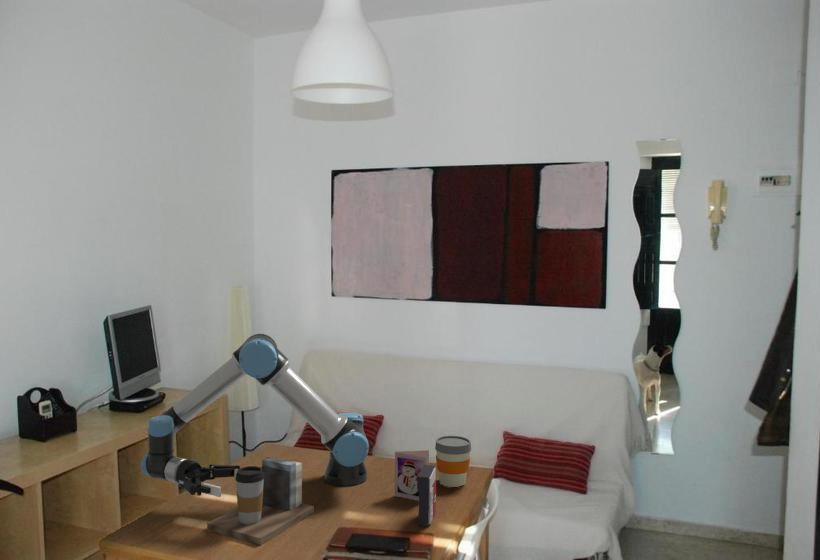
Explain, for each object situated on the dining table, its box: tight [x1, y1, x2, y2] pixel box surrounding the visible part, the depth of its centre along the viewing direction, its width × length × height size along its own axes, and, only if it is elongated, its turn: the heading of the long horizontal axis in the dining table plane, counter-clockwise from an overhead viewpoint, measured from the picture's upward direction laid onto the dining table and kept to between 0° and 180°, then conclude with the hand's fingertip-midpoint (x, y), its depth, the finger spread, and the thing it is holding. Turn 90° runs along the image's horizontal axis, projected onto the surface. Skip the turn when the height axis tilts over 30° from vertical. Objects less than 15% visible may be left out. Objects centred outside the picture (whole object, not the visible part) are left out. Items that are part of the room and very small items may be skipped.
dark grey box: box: [417, 464, 437, 527], centre depth 203 cm, size 11×4×15 cm, turn 168°
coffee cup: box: [234, 465, 265, 525], centre depth 196 cm, size 8×8×15 cm
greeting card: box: [393, 449, 430, 501], centre depth 221 cm, size 11×7×15 cm, turn 65°
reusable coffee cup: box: [434, 435, 472, 488], centre depth 233 cm, size 13×12×15 cm
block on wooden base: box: [206, 456, 315, 546], centre depth 200 cm, size 20×25×16 cm
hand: (236, 484), depth 198 cm, fingers open, 13 cm apart
